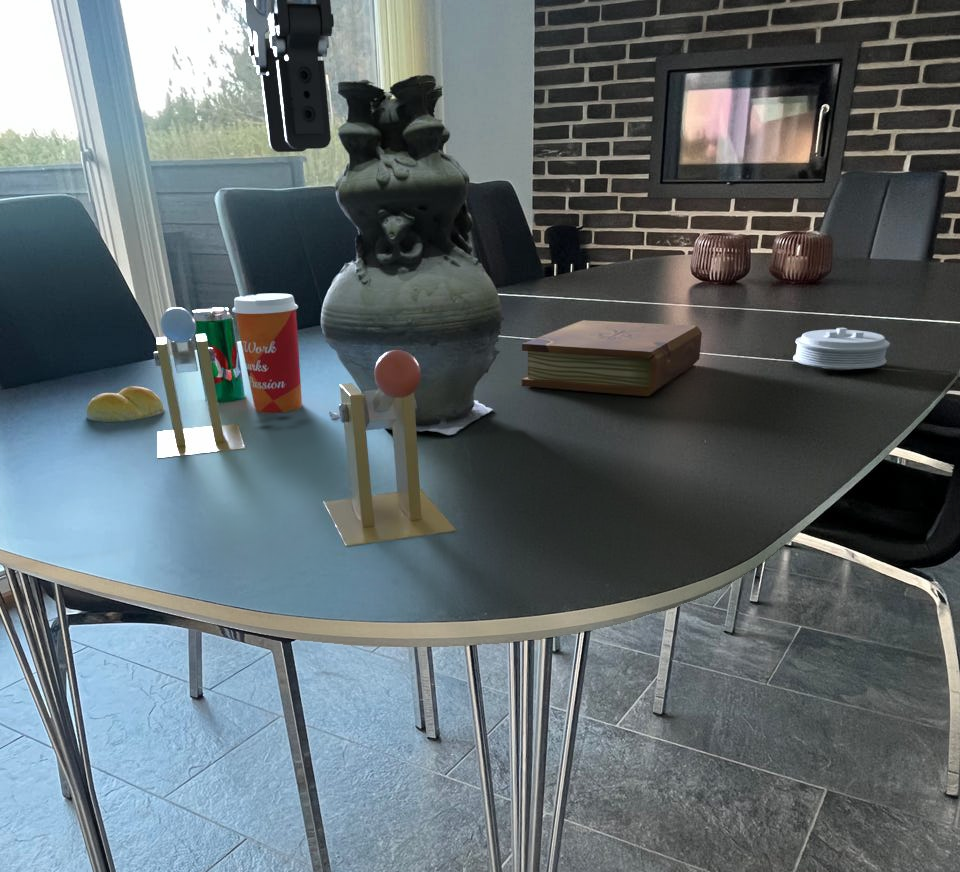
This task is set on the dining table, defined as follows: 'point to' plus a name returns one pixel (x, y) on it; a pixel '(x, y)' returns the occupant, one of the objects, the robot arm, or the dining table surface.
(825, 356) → the lid
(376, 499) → the swinging ball frame
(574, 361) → the diary
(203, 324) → the soda can
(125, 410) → the bread roll
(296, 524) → the dining table surface
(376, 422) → the lever
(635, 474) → the dining table surface
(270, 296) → the paper cup
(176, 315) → the lever
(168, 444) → the hanging ball swing frame
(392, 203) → the decorative urn
